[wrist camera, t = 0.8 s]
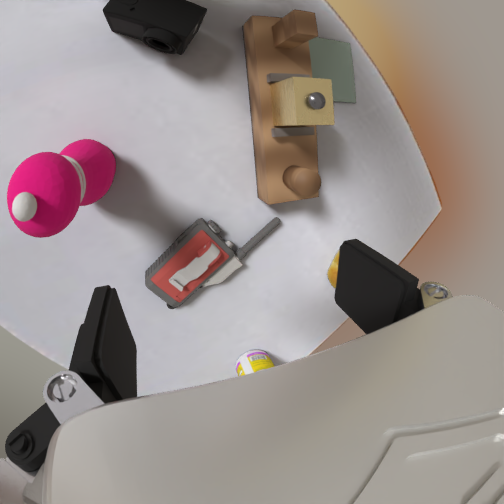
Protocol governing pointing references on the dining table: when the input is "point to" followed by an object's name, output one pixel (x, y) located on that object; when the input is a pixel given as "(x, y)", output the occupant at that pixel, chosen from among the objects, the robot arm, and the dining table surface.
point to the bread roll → (333, 270)
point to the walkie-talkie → (197, 262)
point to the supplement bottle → (253, 362)
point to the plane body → (264, 133)
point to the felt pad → (334, 67)
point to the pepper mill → (59, 186)
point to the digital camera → (156, 22)
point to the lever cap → (302, 102)
